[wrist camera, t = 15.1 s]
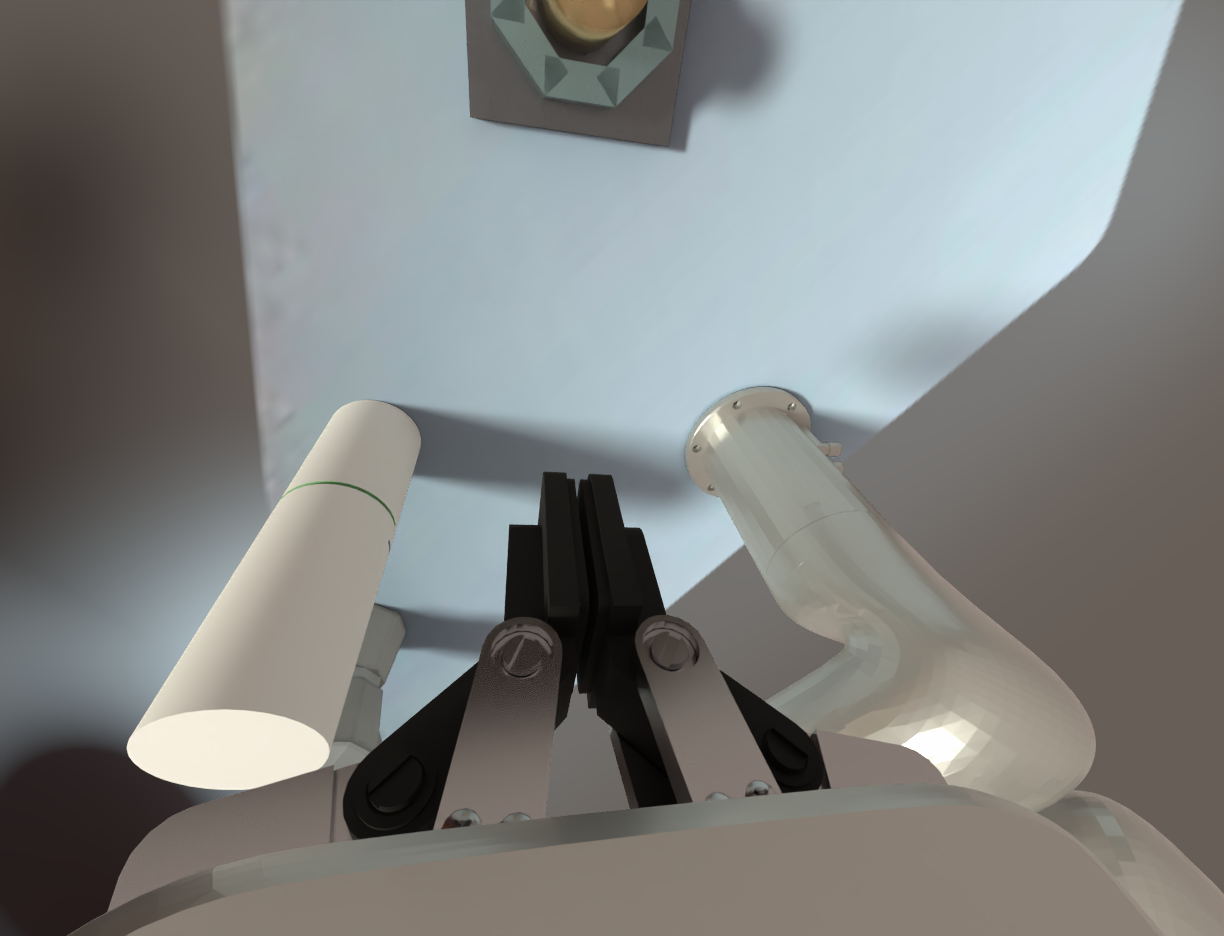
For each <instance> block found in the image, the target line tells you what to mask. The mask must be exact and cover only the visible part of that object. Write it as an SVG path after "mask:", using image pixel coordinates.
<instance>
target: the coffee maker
mask: <svg viewBox="0 0 1224 936" xmlns="http://www.w3.org/2000/svg"><path fill="white" fill-rule="evenodd" d="M406 631H407V630H406V628H405V625H404V623H403V620H402V618H401V616H400V613H398V612H395V611H392V610H390V609H387V608H385V607H382V606H379V605H377V604H374V606H373V609H372V612H371V616H370V619H369V622H368V626H367V629H366V632H365V636H364V639H363V642H362V646H361V649H360V652H359V656H358V659H357V663H356V666H355V669H354V673H353V676H352V679H351V683H350V686H349V690H348V693H347V696H346V700H345V703H344V706H343V710H342V713H341V717H340V720H339V723H338V727H337V730H336V733H335V737H334V740H333V744H332V747H331V750H330V754H329V757H328V759H327V761H326V762H325V763H324V765H323V766H322V767H320V768H319V769H322V768H325V767H328V766H332V765H334V766H335V769H336V770H337V769H340V768H343V767H347V766H350V765H353V764H357V763H360V762H361V761H362V760H363V759H364V758H365V757H366V756H367V755H368V754H369V753H370V752H371V751H372V750H373V749H375V748H376V747H377V746H378V745H379V744H381V743H382V740H381V736H380V732H379V726H380V716H381V706H382V695H383V690H382V689H380V688H381V687H382V686H383V685H384V684H385V682H386V679H387V677H388V675H389V672H390V670H391V667H392V665H393V663H394V660H395V658H396V655H397V653H398V651H399V648H400V646H401V643H402V641H403V639H404V636H405V634H406Z"/></svg>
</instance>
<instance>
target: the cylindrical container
mask: <svg viewBox="0 0 1224 936" xmlns="http://www.w3.org/2000/svg"><path fill="white" fill-rule="evenodd" d="M420 447H421V436H420V432H419V430H418V428H417V426H416V424H415V423H414V422H413V420H412V419H411V418H410V417H409V416H408V415H407V414H406V413H405V412H403V411H402V410H400V409H398V408H397V407H395V406H392V405H390V404H388V403H384V402H381V401H375V400H359V401H355V402H351V403H349V404H346V405H344V406H343V407H341V408H340V409H338V410H337V411H336V413H335V414H334V415H333V416H332V418H331V420H330V421H329V423H328V424H327V426H326V428H325V429H324V431H323V432H322V434H321V436H320V437H319V439H318V440H317V442H316V444H315V445H314V447H313V448H312V450H311V452H310V453H309V455H308V456H307V458H306V459H305V461H304V463H303V464H302V466H301V467H300V469H299V471H298V472H297V474H296V475H295V477H294V479H293V480H292V482H291V483H290V485H289V487H288V488H287V490H286V491H285V493H284V495H283V496H282V498H281V499H280V501H279V503H278V504H277V506H276V507H275V509H274V510H273V512H272V513H271V515H270V517H269V518H268V520H267V521H266V523H265V525H264V526H263V528H262V529H261V531H260V532H259V534H258V536H257V537H256V539H255V540H254V542H253V544H252V545H251V547H250V548H249V550H248V551H247V553H246V555H245V556H244V558H243V559H242V561H241V563H240V564H239V566H238V567H237V569H236V570H235V572H234V574H233V575H232V577H231V578H230V580H229V582H228V583H227V585H226V587H225V588H224V590H223V591H222V593H221V594H220V596H219V598H218V599H217V601H216V602H215V604H214V605H213V607H212V609H211V610H210V612H209V613H208V615H207V617H206V618H205V620H204V621H203V623H202V624H201V626H200V628H199V629H198V631H197V632H196V634H195V636H194V637H193V639H192V640H191V642H190V644H189V645H188V647H187V648H186V650H185V652H184V653H183V655H182V656H181V658H180V660H179V661H178V663H177V664H176V666H175V667H174V669H173V670H172V672H171V674H170V675H169V677H168V679H167V680H166V682H165V683H164V685H163V686H162V688H161V690H160V691H159V693H158V694H157V696H156V697H155V699H154V701H153V702H152V704H151V705H150V707H149V709H148V710H147V712H146V713H145V715H144V717H143V718H142V720H141V721H140V723H139V724H138V726H137V728H136V729H135V731H134V732H133V734H132V736H131V737H130V739H129V741H128V745H127V751H128V755H129V757H130V758H131V760H132V761H133V762H134V763H135V764H136V765H137V766H138V767H140V768H141V769H142V770H144V771H146V772H148V773H150V774H152V775H154V776H156V777H158V778H161V779H164V780H167V781H170V782H174V783H178V784H182V785H187V786H192V787H199V788H207V789H223V790H244V789H254V788H258V787H261V786H264V785H268V784H271V783H274V782H278V781H281V780H285V779H288V778H291V777H295V776H298V775H301V774H305V773H308V772H312V771H315V770H318V769H319V768H320V767H322V766H323V765H324V763H325V762H326V761H327V759H328V757H329V754H330V750H331V747H332V744H333V740H334V737H335V733H336V730H337V727H338V723H339V720H340V717H341V713H342V710H343V706H344V703H345V700H346V696H347V693H348V690H349V686H350V683H351V679H352V676H353V673H354V669H355V666H356V663H357V659H358V656H359V652H360V649H361V646H362V642H363V639H364V636H365V632H366V629H367V626H368V622H369V619H370V616H371V612H372V609H373V606H374V602H375V599H376V596H377V592H378V589H379V586H380V582H381V579H382V575H383V572H384V569H385V565H386V562H387V559H388V555H389V552H390V549H391V545H392V542H393V539H394V535H395V532H396V528H397V525H398V522H399V518H400V515H401V511H402V508H403V505H404V501H405V498H406V495H407V491H408V488H409V485H410V481H411V478H412V475H413V471H414V468H415V465H416V461H417V458H418V455H419V451H420Z"/></svg>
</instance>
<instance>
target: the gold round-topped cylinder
mask: <svg viewBox="0 0 1224 936" xmlns="http://www.w3.org/2000/svg"><path fill="white" fill-rule="evenodd" d="M538 1H539V6H540V10H541V13H542V16H543V19H544V21H545V24H546V26H547V27H548V29H549V31H550V32H551V34H552V35H553V37H554V38H555V39H556V40H557V41H558V42H559V43H560V44H562V45H563V46H564V47H566V48H568V49H570V50H572V51H575V52H580V53H587V52H592V51H595V50H597V49H599V48H601V47H602V46H603V45H605V44H606V43H607V42H608V41H609V40H610V39H611V38H613V37H614V36H615V35H616V34H617V33H618V32H619V31H620V30H621V29H623V28H624V27H625V26H626V25H627V24H628V23H629V22H630V21H631V20H632V19H634V18H635V17H636V16H637V15H638V14H639V12H640V11H641V10H642V9H643V7H644V6H645V4H646V2H647V1H648V0H538Z"/></svg>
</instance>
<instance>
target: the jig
mask: <svg viewBox="0 0 1224 936" xmlns="http://www.w3.org/2000/svg"><path fill="white" fill-rule="evenodd" d="M690 5H691V0H648V1H647V2H646V4H645V6H644V7H643V9H642V10H641V11H640V12H639V14H638V15H637V16H636V17H635V18H634V19H632V20H631V21H630V22H629V23H628V24H627V25H626V26H625V27H624V28H623V29H621V30H620V31H619V32H618V33H617V34H616V35H615V36H614V37H613V38H611V39H610V40H609V41H608V42H607V43H606V44H605V45H603V46H602V47H601V48H599V49H597V50H595V51H592V52H587V53H580V52H575V51H572V50H570V49H568V48H566V47H564V46H563V45H562V44H560V43H559V42H558V41H557V40H556V39H555V38H554V37H553V35H552V34H551V32H550V31H549V29H548V27H547V26H546V24H545V21H544V19H543V16H542V13H541V10H540V6H539V1H538V0H465V8H466V31H467V53H468V76H469V99H470V117H472V118H479V119H486V120H492V121H499V122H506V123H513V124H519V125H526V126H533V127H540V128H546V129H553V130H560V131H567V132H573V133H580V134H587V135H593V136H600V137H607V138H614V139H620V140H627V141H634V142H641V143H647V144H654V145H661V146H668V145H669V139H670V132H671V126H672V120H673V113H674V107H675V101H676V94H677V88H678V82H679V75H680V69H681V63H682V56H683V50H684V43H685V37H686V31H687V24H688V18H689V12H690Z"/></svg>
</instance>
